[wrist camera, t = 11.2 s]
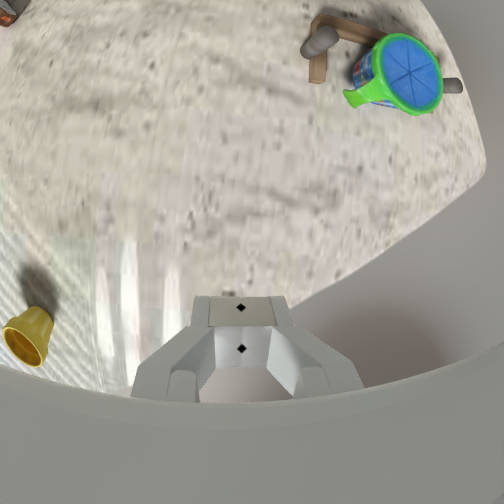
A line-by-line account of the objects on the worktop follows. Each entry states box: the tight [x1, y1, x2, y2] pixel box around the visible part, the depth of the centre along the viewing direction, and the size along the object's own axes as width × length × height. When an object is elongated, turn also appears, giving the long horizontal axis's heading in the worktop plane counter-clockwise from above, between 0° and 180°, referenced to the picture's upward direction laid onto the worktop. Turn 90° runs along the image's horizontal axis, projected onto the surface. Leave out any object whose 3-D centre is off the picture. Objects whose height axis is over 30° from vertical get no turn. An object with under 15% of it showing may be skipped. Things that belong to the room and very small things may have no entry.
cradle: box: [300, 14, 463, 113], centre depth 26 cm, size 10×23×8 cm, turn 87°
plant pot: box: [2, 306, 53, 367], centre depth 38 cm, size 10×10×10 cm
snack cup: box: [343, 33, 443, 116], centre depth 26 cm, size 16×10×10 cm
